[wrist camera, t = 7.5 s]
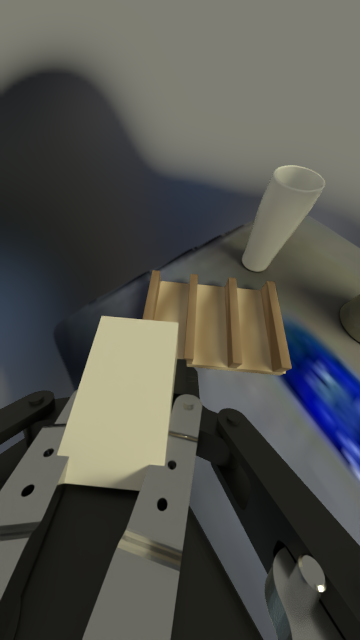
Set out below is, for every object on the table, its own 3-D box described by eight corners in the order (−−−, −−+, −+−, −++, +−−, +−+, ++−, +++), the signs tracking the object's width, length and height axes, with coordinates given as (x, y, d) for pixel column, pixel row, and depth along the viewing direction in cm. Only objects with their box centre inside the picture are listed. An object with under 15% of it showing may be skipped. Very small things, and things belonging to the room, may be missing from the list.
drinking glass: (245, 246, 39) (282, 159, 26) (275, 259, 38) (331, 174, 25) (231, 266, 36) (265, 180, 23) (264, 281, 35) (320, 198, 22)
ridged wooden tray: (266, 296, 33) (278, 281, 30) (280, 375, 27) (296, 368, 23) (151, 285, 34) (148, 270, 30) (136, 361, 27) (130, 353, 23)
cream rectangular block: (176, 376, 17) (178, 322, 7) (170, 441, 15) (161, 493, 5) (143, 373, 17) (101, 315, 7) (132, 438, 15) (48, 481, 5)
